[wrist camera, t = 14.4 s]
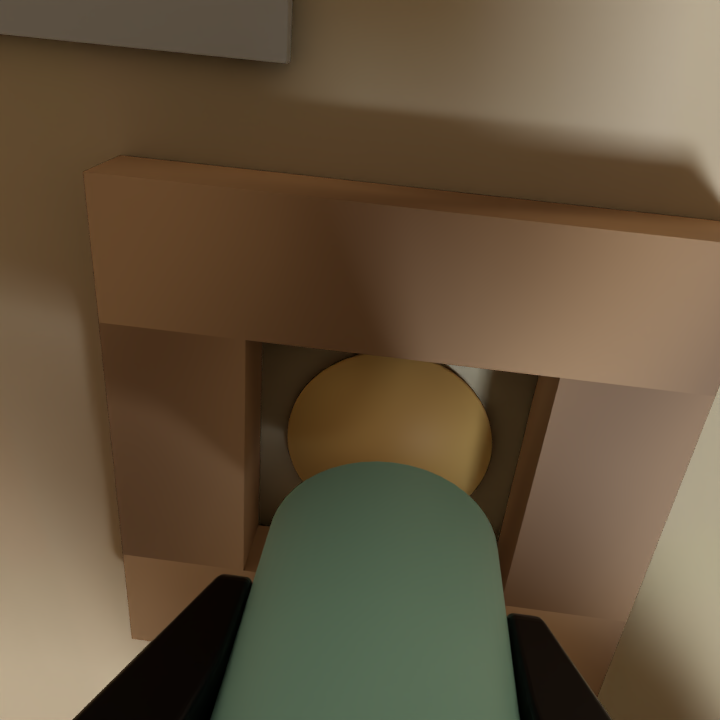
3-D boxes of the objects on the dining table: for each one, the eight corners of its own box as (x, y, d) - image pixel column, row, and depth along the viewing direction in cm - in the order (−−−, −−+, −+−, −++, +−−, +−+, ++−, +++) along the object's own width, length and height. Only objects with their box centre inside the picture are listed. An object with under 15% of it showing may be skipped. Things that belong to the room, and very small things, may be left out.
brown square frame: (734, 222, 9) (772, 247, 8) (582, 649, 14) (594, 702, 13) (120, 155, 10) (83, 172, 9) (153, 591, 14) (131, 638, 13)
